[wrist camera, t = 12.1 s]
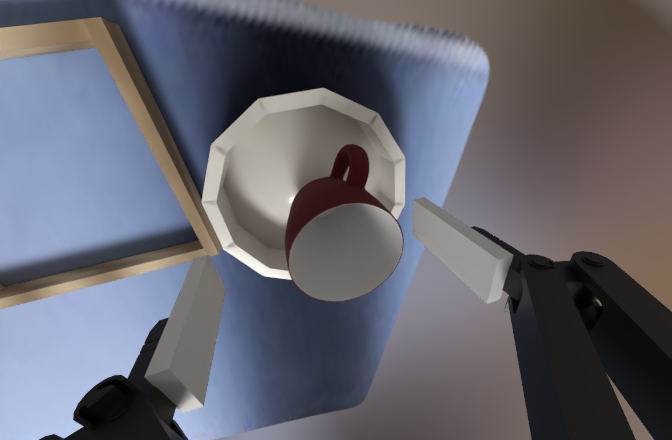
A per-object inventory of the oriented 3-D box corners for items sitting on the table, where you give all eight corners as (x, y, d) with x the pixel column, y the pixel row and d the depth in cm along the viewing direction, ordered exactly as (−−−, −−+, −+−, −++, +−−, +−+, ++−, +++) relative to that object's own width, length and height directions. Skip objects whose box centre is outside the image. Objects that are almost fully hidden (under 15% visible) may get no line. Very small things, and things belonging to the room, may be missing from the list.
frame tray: (1, 297, 22) (-22, 314, 20) (-278, 70, 13) (-361, 67, 11) (222, 242, 25) (218, 254, 23) (119, 25, 16) (100, 16, 14)
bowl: (250, 271, 27) (247, 299, 23) (181, 110, 19) (159, 114, 15) (387, 234, 29) (404, 254, 26) (381, 77, 21) (405, 73, 17)
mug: (285, 126, 20) (298, 149, 12) (371, 140, 23) (433, 167, 14) (277, 232, 25) (281, 306, 16) (349, 234, 27) (386, 299, 19)
